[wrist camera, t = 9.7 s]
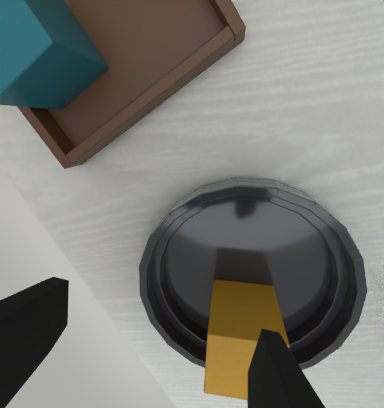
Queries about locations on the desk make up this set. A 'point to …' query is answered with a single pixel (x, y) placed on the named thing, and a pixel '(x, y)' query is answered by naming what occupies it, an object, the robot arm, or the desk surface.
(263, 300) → the mustard block
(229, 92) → the desk surface
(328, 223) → the pan
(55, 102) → the teal block
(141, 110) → the tray
